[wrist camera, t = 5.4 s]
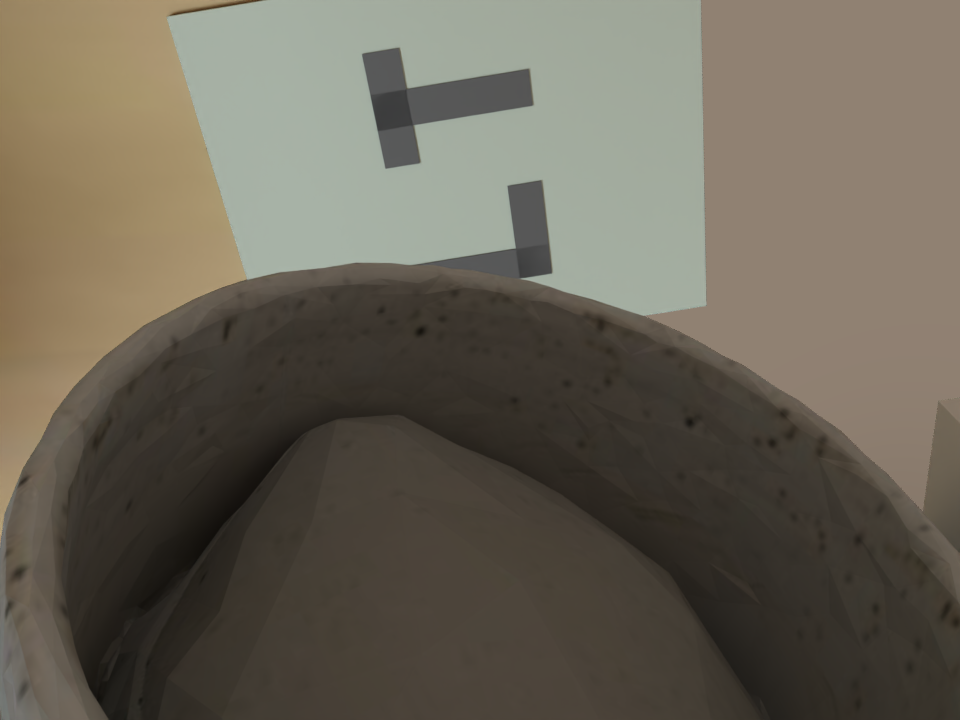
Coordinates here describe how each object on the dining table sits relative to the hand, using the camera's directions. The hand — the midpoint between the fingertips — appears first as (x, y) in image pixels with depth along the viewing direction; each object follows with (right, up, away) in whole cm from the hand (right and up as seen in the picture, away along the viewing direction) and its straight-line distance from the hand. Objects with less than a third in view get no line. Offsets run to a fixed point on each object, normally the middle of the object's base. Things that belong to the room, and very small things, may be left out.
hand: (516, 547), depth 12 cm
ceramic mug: (0, 0, 0) cm, 1 cm away
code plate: (-1, +8, +14) cm, 16 cm away
